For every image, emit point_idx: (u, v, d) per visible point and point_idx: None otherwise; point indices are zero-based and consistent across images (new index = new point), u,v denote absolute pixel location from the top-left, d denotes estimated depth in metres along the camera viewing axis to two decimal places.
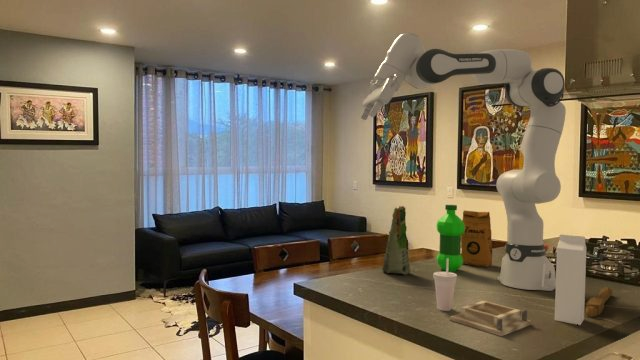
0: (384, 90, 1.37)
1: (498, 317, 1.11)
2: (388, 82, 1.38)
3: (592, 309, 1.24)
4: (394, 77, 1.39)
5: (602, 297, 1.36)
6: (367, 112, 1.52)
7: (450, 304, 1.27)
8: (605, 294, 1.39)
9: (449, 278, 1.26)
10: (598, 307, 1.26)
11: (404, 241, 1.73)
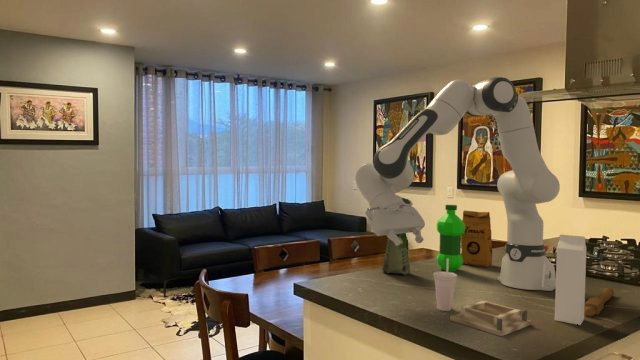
0: (372, 228, 1.37)
1: (498, 317, 1.11)
2: (369, 221, 1.38)
3: (590, 309, 1.24)
4: None
5: (602, 297, 1.36)
6: (417, 233, 1.43)
7: (450, 304, 1.27)
8: (606, 294, 1.39)
9: (449, 278, 1.26)
10: (596, 307, 1.26)
11: (404, 241, 1.73)
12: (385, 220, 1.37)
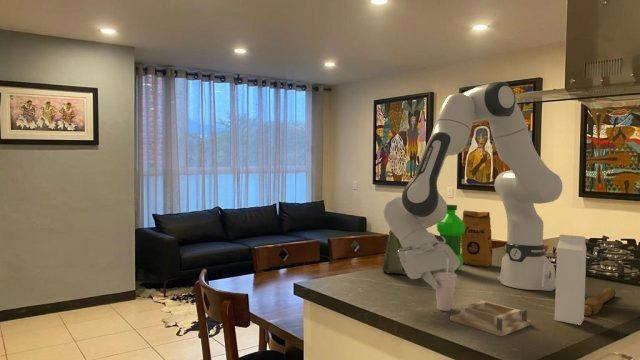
0: (406, 271, 1.27)
1: (498, 317, 1.11)
2: (401, 262, 1.29)
3: (586, 308, 1.25)
4: None
5: (601, 297, 1.36)
6: None
7: (450, 304, 1.27)
8: (606, 294, 1.39)
9: (449, 278, 1.26)
10: (593, 306, 1.27)
11: None
12: (419, 262, 1.27)
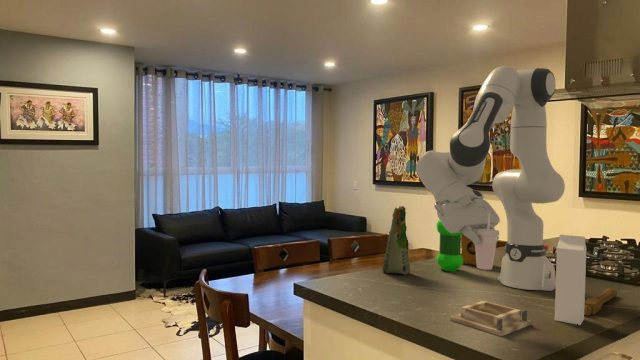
0: (444, 225, 1.17)
1: (498, 317, 1.11)
2: (438, 216, 1.19)
3: (586, 308, 1.25)
4: None
5: (602, 297, 1.36)
6: None
7: (491, 262, 1.18)
8: (606, 294, 1.39)
9: (491, 234, 1.16)
10: (593, 306, 1.27)
11: (404, 241, 1.73)
12: (458, 215, 1.18)
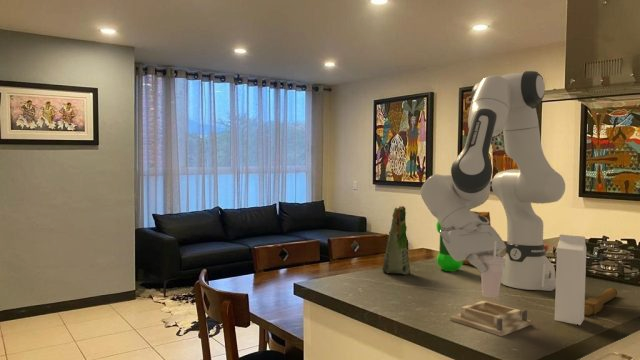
0: (450, 252, 1.16)
1: (498, 317, 1.11)
2: (444, 243, 1.17)
3: (586, 308, 1.25)
4: None
5: (603, 297, 1.36)
6: None
7: (497, 291, 1.16)
8: (607, 294, 1.39)
9: (498, 262, 1.15)
10: (594, 306, 1.27)
11: (404, 241, 1.73)
12: (464, 242, 1.16)
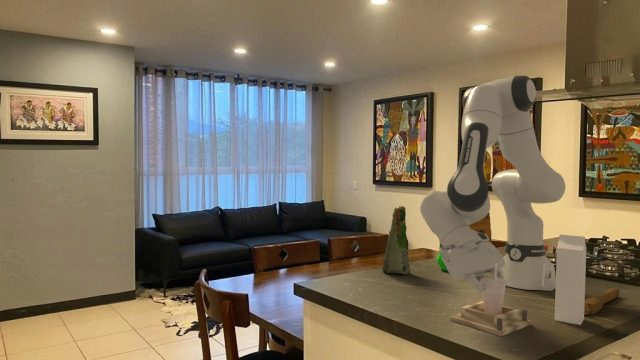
0: (449, 271, 1.16)
1: (498, 317, 1.11)
2: (444, 262, 1.18)
3: (584, 307, 1.25)
4: None
5: (603, 297, 1.36)
6: (499, 275, 1.22)
7: (500, 312, 1.17)
8: (608, 294, 1.39)
9: (499, 284, 1.16)
10: (592, 306, 1.27)
11: (404, 241, 1.73)
12: (464, 261, 1.16)
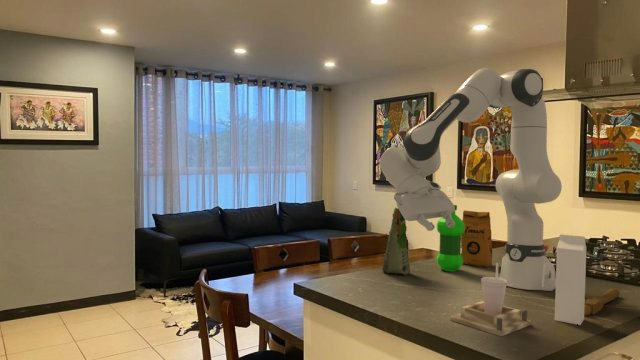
0: (402, 213, 1.30)
1: (498, 317, 1.11)
2: (398, 206, 1.32)
3: (585, 308, 1.25)
4: None
5: (603, 297, 1.36)
6: (448, 218, 1.37)
7: (500, 312, 1.17)
8: (608, 294, 1.39)
9: (500, 284, 1.16)
10: (593, 306, 1.27)
11: (404, 241, 1.73)
12: (415, 204, 1.31)
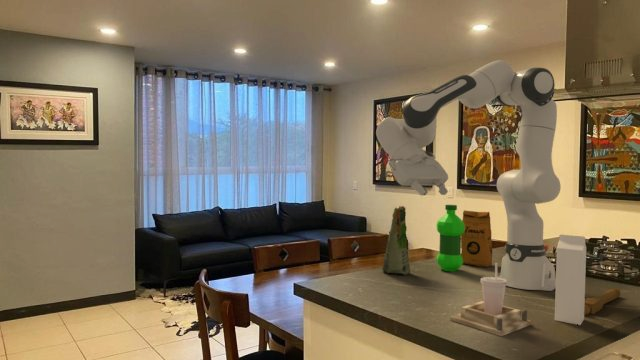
0: (396, 178, 1.33)
1: (498, 317, 1.11)
2: (392, 171, 1.35)
3: (584, 307, 1.25)
4: None
5: (603, 297, 1.36)
6: (441, 185, 1.40)
7: (500, 312, 1.17)
8: (608, 295, 1.39)
9: (500, 284, 1.16)
10: (592, 306, 1.27)
11: (404, 241, 1.73)
12: (409, 170, 1.34)
